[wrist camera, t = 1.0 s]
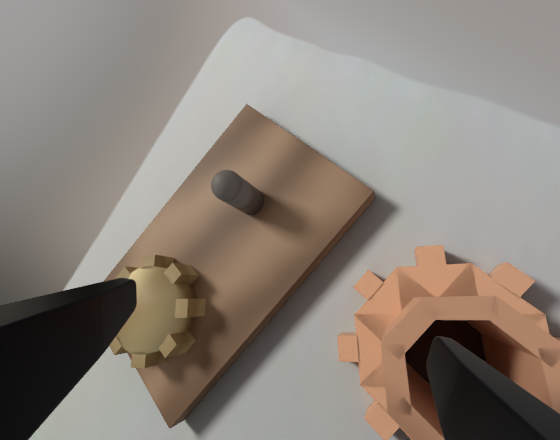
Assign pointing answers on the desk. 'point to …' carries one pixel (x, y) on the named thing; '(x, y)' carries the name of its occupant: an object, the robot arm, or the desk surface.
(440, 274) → the gear
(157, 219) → the carrier
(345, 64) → the desk surface
